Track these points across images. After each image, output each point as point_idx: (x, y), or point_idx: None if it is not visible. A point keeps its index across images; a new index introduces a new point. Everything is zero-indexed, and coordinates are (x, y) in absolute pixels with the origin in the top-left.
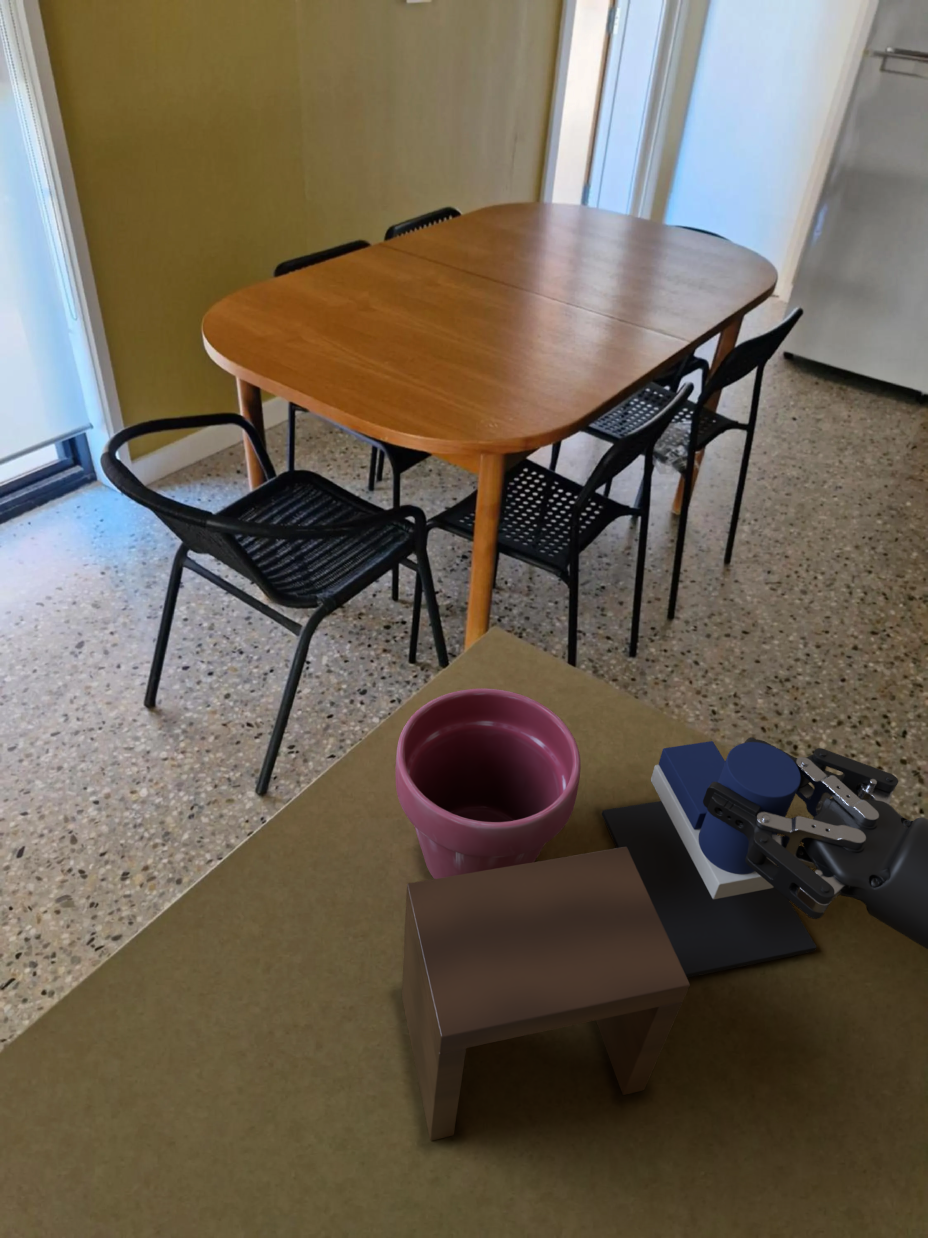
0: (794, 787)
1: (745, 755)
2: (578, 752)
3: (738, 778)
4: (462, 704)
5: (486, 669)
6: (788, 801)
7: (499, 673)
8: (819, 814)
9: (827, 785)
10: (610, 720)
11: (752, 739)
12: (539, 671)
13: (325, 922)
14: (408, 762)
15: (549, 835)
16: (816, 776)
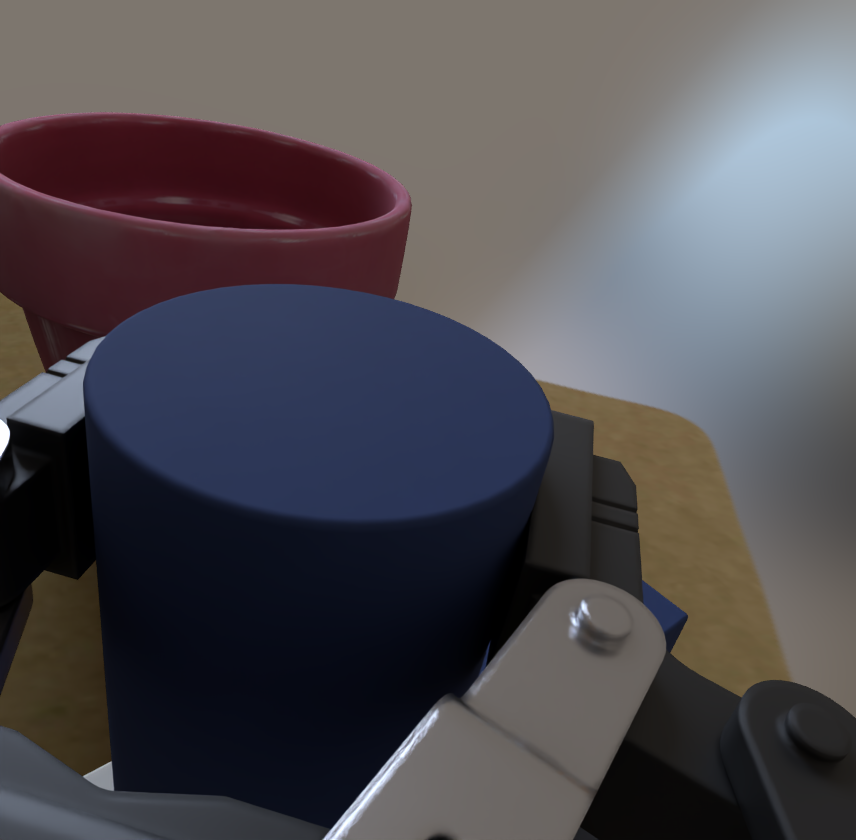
0: (228, 488)
1: (389, 328)
2: (278, 235)
3: (196, 297)
4: (350, 189)
5: (624, 419)
6: (164, 557)
7: (633, 433)
8: (64, 775)
9: (411, 743)
10: (695, 600)
11: (578, 418)
12: (696, 477)
13: (4, 343)
14: (206, 199)
15: (44, 292)
16: (526, 708)
